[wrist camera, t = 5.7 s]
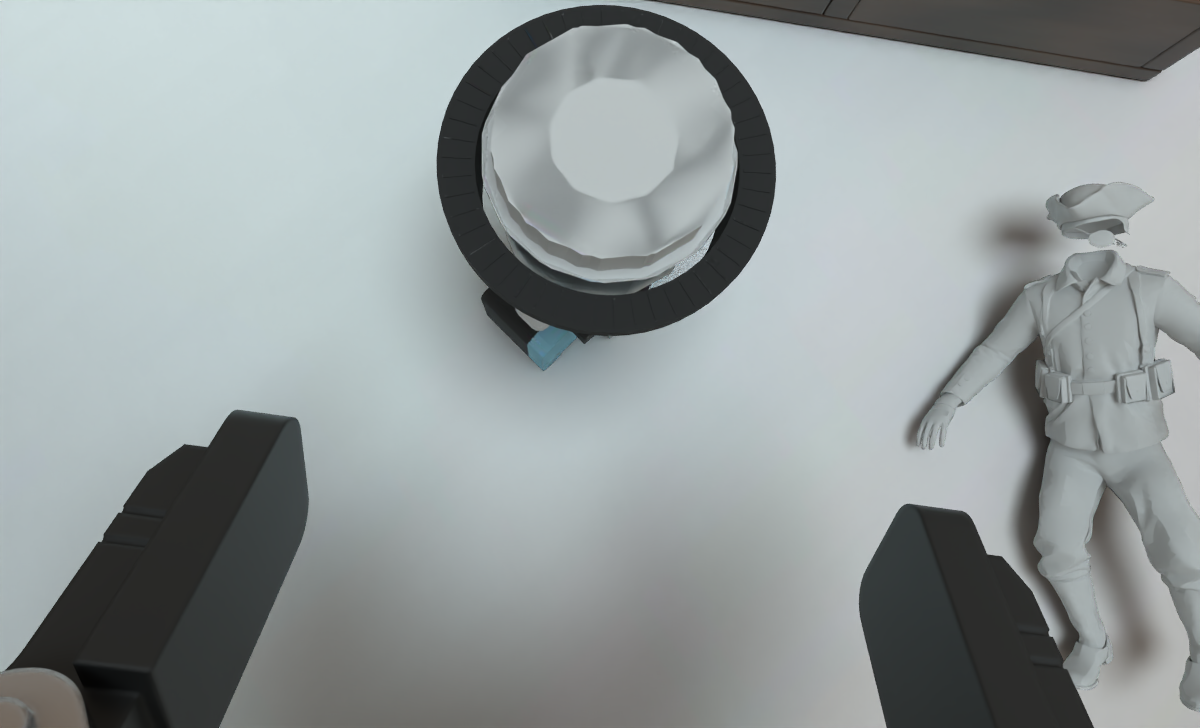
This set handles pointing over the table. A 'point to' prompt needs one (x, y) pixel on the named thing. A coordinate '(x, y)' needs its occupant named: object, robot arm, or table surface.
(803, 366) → the table surface
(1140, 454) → the soldier figure
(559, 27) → the push button
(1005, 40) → the grid
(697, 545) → the table surface
